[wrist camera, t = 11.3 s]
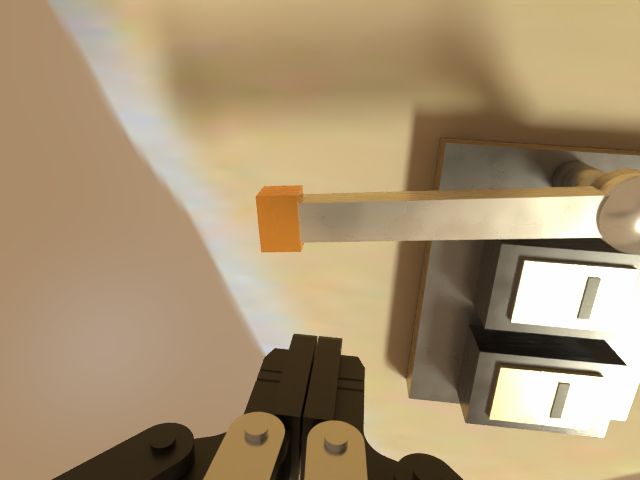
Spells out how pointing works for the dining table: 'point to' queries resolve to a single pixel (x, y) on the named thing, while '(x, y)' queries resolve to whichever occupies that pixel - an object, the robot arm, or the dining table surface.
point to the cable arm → (454, 214)
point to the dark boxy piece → (528, 304)
